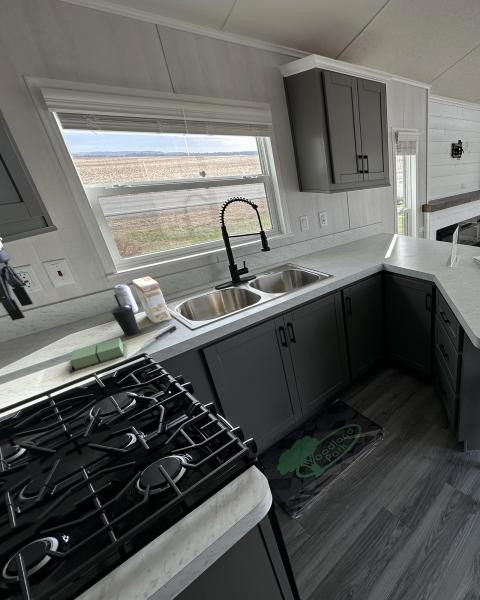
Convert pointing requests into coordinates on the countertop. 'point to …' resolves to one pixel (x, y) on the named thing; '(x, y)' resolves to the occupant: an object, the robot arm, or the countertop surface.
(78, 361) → the pad
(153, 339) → the kitchen knife
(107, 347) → the pad
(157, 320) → the coffeecake box
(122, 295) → the energy drink can
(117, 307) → the drinking cup
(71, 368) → the backing board
